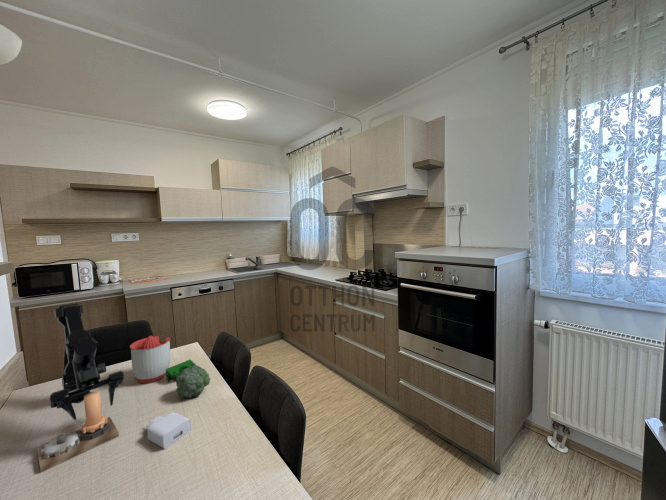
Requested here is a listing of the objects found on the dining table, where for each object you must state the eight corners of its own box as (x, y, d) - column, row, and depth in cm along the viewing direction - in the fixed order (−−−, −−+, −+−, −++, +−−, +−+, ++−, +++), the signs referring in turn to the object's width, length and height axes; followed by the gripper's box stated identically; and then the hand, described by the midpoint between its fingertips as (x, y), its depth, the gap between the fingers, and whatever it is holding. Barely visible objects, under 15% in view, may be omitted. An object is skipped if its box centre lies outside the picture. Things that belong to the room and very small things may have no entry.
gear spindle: (76, 437, 90) (73, 399, 89) (98, 423, 97) (95, 387, 96) (92, 440, 89) (88, 401, 88) (112, 426, 95) (109, 390, 94)
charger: (165, 418, 101) (191, 431, 94) (137, 434, 93) (164, 450, 86) (164, 405, 101) (190, 418, 94) (136, 421, 93) (163, 436, 86)
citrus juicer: (182, 368, 138) (179, 329, 136) (152, 388, 121) (149, 343, 120) (156, 365, 141) (153, 327, 140) (123, 384, 125) (120, 341, 123)
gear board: (40, 472, 79) (39, 456, 78) (37, 451, 87) (36, 436, 86) (118, 436, 93) (117, 421, 92) (110, 420, 100) (109, 407, 100)
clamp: (175, 390, 126) (168, 378, 122) (169, 384, 130) (162, 371, 125) (199, 371, 134) (193, 359, 130) (193, 365, 138) (187, 353, 133)
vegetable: (219, 376, 125) (210, 378, 112) (198, 402, 121) (185, 407, 107) (200, 359, 127) (187, 359, 113) (178, 385, 122) (162, 387, 109)
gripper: (47, 369, 86) (54, 417, 80) (121, 348, 100) (132, 388, 94) (47, 384, 92) (54, 431, 86) (117, 363, 106) (127, 402, 100)
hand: (94, 412), depth 91 cm, fingers open, 9 cm apart
